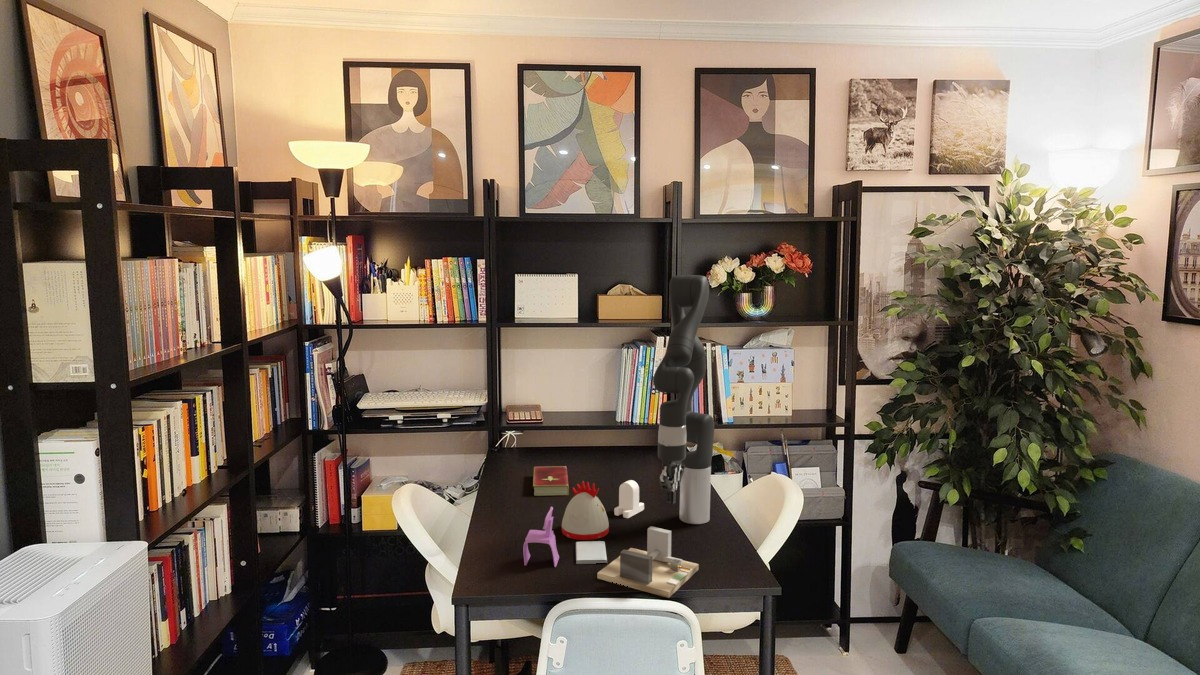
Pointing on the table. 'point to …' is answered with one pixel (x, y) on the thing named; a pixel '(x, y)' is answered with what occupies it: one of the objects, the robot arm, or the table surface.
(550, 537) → the toy chair
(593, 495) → the kitchen timer
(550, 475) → the hardcover book
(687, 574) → the bench
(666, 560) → the upright plate with peg
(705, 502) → the robot arm
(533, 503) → the table surface
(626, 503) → the cable organizer
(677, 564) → the grey block with pin
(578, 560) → the hard drive
